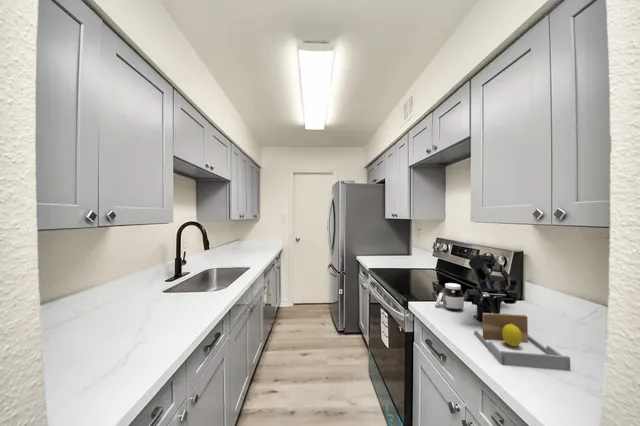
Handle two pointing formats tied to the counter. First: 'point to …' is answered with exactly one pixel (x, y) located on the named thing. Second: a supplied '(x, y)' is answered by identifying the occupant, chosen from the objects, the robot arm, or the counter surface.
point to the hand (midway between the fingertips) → (498, 317)
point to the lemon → (511, 335)
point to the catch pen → (529, 356)
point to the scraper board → (497, 321)
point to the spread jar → (452, 297)
